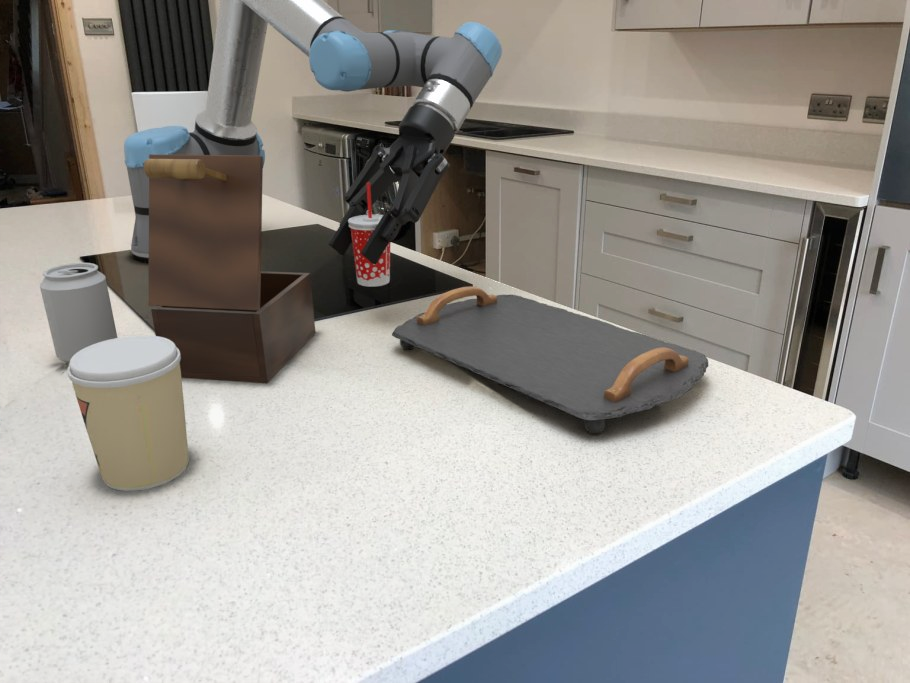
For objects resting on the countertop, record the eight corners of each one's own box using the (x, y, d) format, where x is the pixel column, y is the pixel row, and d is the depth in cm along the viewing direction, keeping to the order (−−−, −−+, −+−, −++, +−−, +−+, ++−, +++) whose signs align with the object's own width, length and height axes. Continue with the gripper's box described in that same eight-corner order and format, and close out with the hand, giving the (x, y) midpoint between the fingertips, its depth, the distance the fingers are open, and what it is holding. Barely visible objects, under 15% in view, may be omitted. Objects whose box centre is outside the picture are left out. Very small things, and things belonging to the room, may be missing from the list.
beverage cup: (371, 272, 108) (366, 177, 103) (403, 279, 105) (400, 181, 100) (342, 283, 104) (335, 183, 98) (375, 291, 100) (370, 188, 95)
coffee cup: (113, 446, 74) (89, 336, 69) (207, 441, 75) (190, 331, 70) (76, 499, 65) (46, 377, 61) (184, 493, 66) (162, 371, 61)
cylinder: (212, 218, 172) (195, 93, 162) (139, 219, 173) (117, 94, 162) (234, 204, 188) (219, 89, 178) (167, 204, 189) (149, 90, 178)
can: (133, 349, 98) (116, 262, 93) (90, 371, 91) (70, 279, 87) (88, 342, 100) (70, 257, 96) (44, 364, 94) (22, 273, 89)
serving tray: (375, 345, 98) (372, 301, 96) (498, 306, 112) (498, 267, 110) (610, 455, 71) (615, 397, 69) (733, 384, 85) (740, 335, 83)
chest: (225, 328, 105) (216, 269, 101) (315, 333, 102) (310, 273, 99) (162, 376, 90) (150, 308, 86) (267, 383, 87) (259, 314, 84)
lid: (152, 155, 85) (110, 142, 77) (263, 156, 83) (230, 143, 75) (151, 305, 86) (110, 307, 79) (260, 310, 84) (228, 312, 77)
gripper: (374, 99, 108) (292, 227, 103) (470, 105, 96) (383, 251, 91) (401, 132, 114) (325, 256, 109) (496, 143, 102) (414, 282, 97)
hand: (351, 254), depth 100 cm, fingers closed on beverage cup, 6 cm apart
